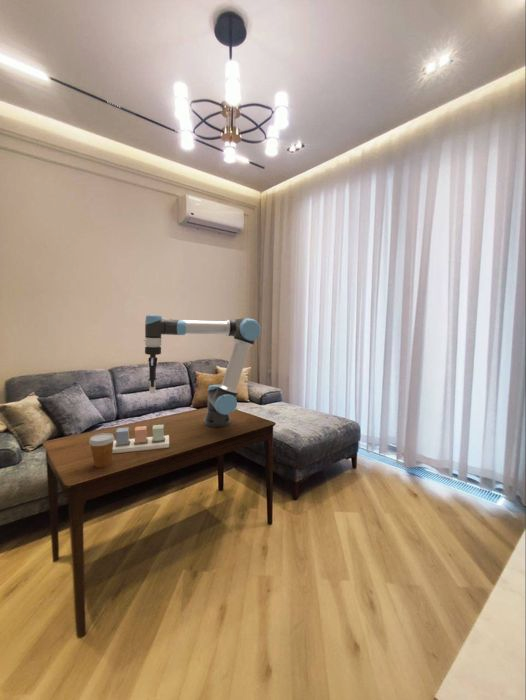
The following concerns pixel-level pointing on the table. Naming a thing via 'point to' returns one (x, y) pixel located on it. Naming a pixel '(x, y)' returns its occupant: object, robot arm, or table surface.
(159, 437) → the sage block
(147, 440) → the board
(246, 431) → the table surface
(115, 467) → the table surface
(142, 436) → the terracotta block
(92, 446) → the disposable coffee cup
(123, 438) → the slate block
